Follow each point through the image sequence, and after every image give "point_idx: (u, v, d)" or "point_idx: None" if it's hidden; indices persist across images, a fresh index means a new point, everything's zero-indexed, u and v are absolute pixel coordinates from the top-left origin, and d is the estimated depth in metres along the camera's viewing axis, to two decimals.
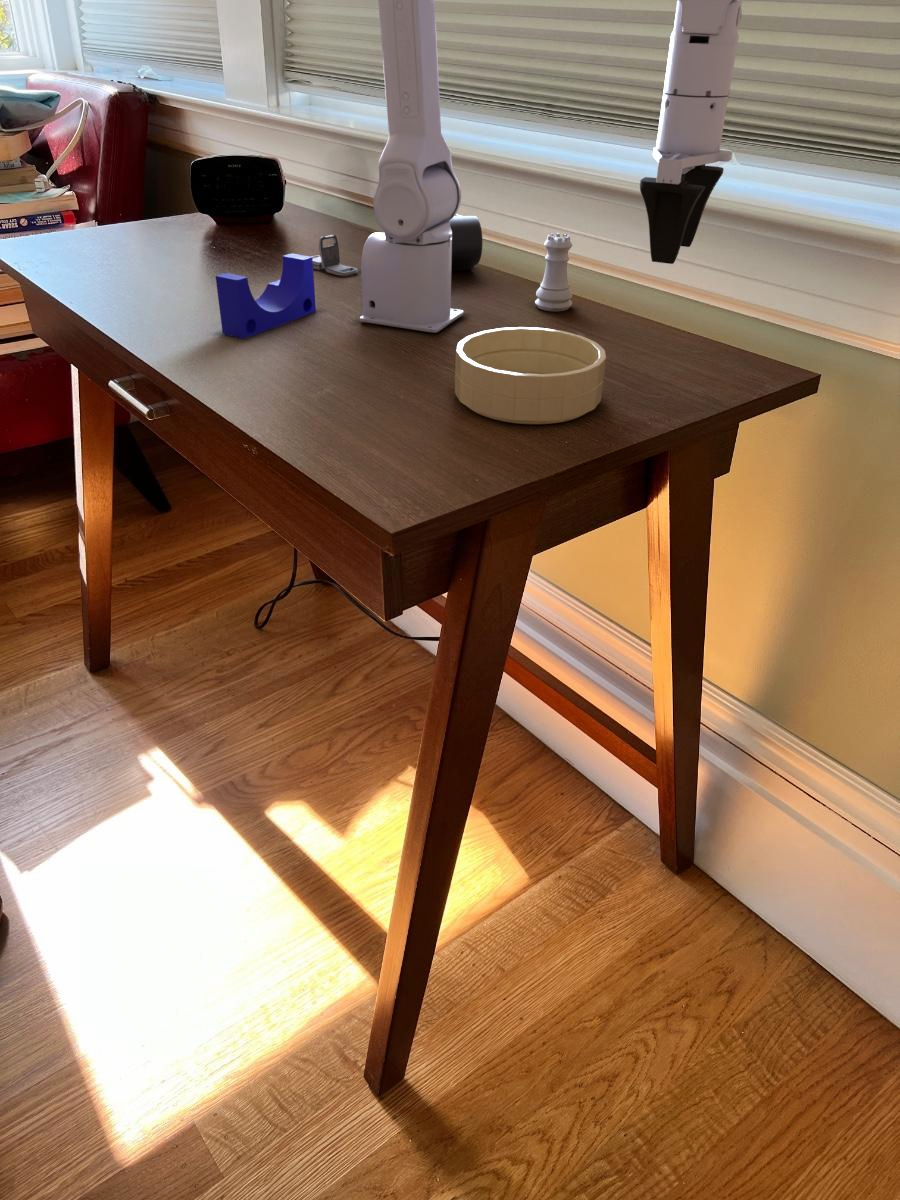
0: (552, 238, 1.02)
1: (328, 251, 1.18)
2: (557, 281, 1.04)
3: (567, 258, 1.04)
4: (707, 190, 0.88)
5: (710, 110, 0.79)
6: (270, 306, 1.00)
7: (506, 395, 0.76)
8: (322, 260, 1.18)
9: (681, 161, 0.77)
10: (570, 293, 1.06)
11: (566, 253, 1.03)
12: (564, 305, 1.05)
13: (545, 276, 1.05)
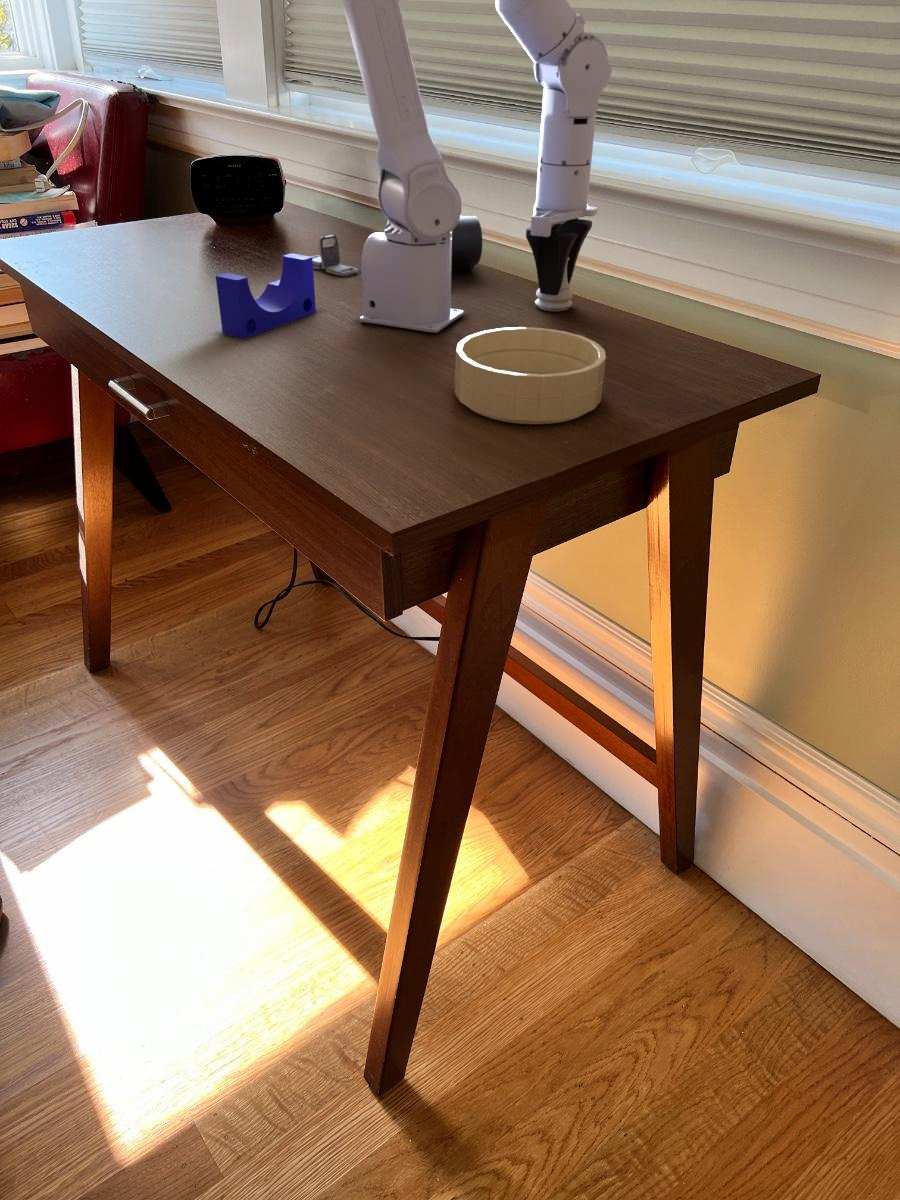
0: None
1: (328, 251, 1.18)
2: None
3: None
4: (578, 240, 1.04)
5: (574, 176, 0.97)
6: (270, 306, 1.00)
7: (506, 395, 0.76)
8: (322, 260, 1.18)
9: (549, 218, 0.95)
10: (570, 293, 1.06)
11: None
12: (564, 305, 1.05)
13: None
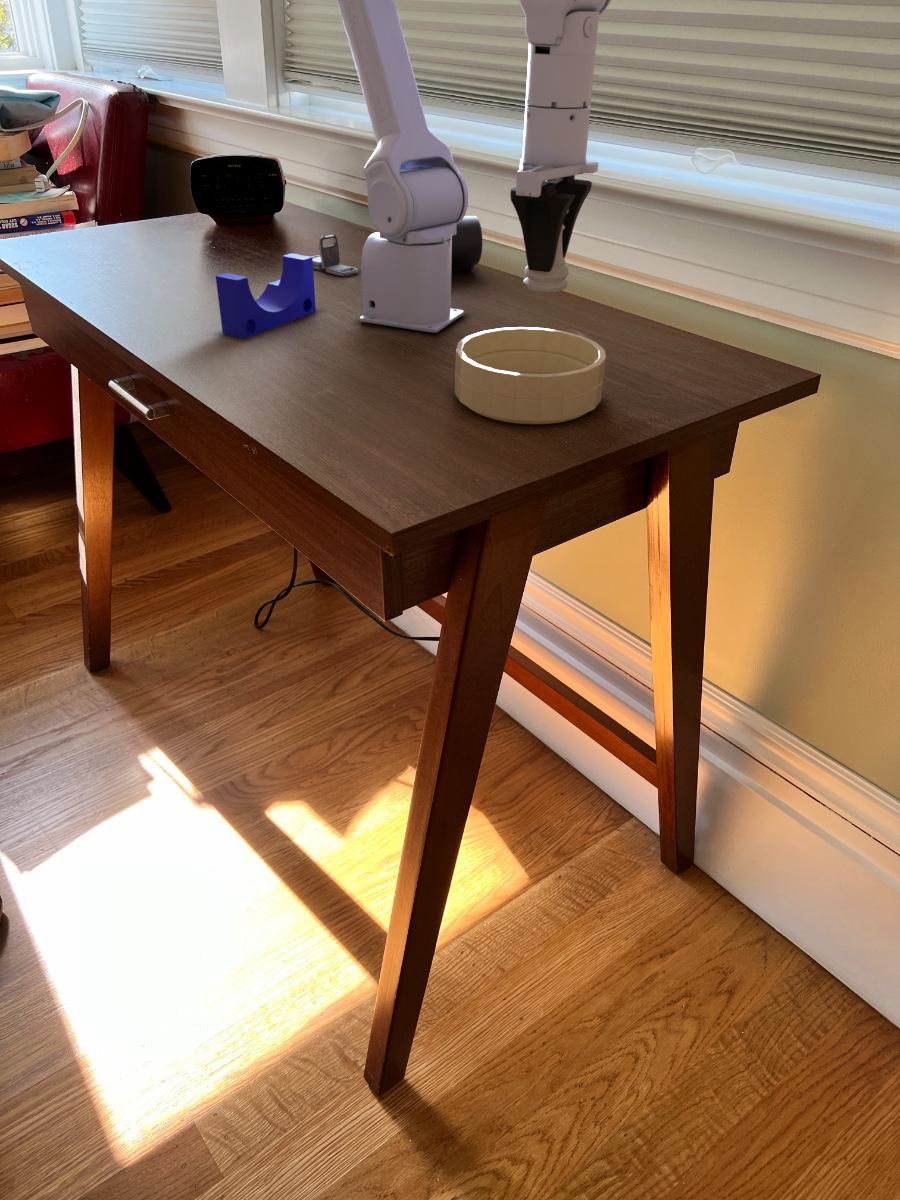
0: None
1: (328, 251, 1.18)
2: None
3: (562, 226, 0.85)
4: (575, 205, 0.85)
5: (570, 122, 0.78)
6: (270, 306, 1.00)
7: (506, 395, 0.76)
8: (322, 260, 1.18)
9: (538, 174, 0.76)
10: (566, 270, 0.87)
11: None
12: (558, 285, 0.86)
13: None
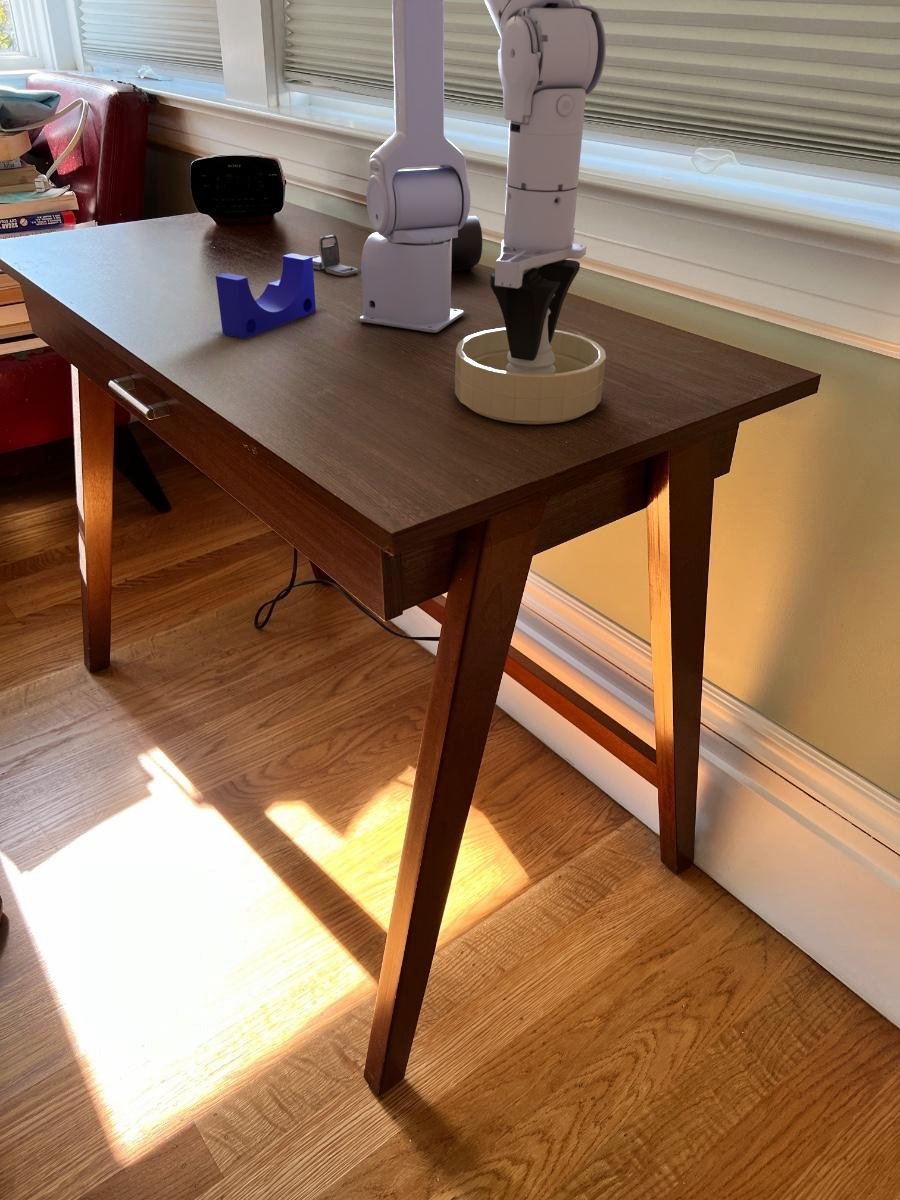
0: None
1: (328, 251, 1.18)
2: None
3: (548, 312, 0.78)
4: (561, 287, 0.78)
5: (554, 205, 0.71)
6: (270, 306, 1.00)
7: (506, 395, 0.76)
8: (322, 260, 1.18)
9: (519, 264, 0.70)
10: (552, 357, 0.80)
11: None
12: (544, 373, 0.80)
13: None
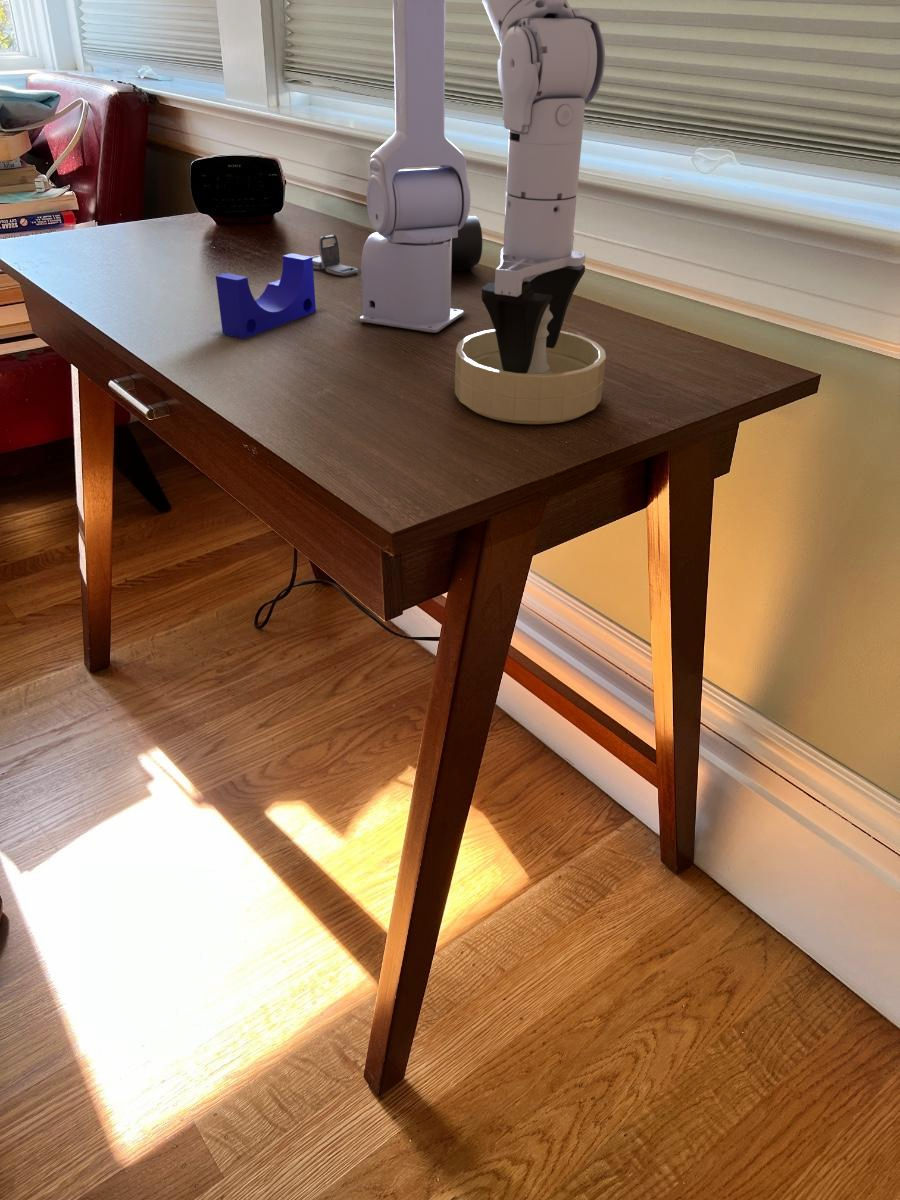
0: None
1: (328, 251, 1.18)
2: (533, 362, 0.80)
3: (546, 333, 0.79)
4: (567, 290, 0.80)
5: (554, 213, 0.71)
6: (270, 306, 1.00)
7: (506, 395, 0.76)
8: (322, 260, 1.18)
9: (518, 272, 0.70)
10: None
11: (545, 327, 0.78)
12: None
13: None
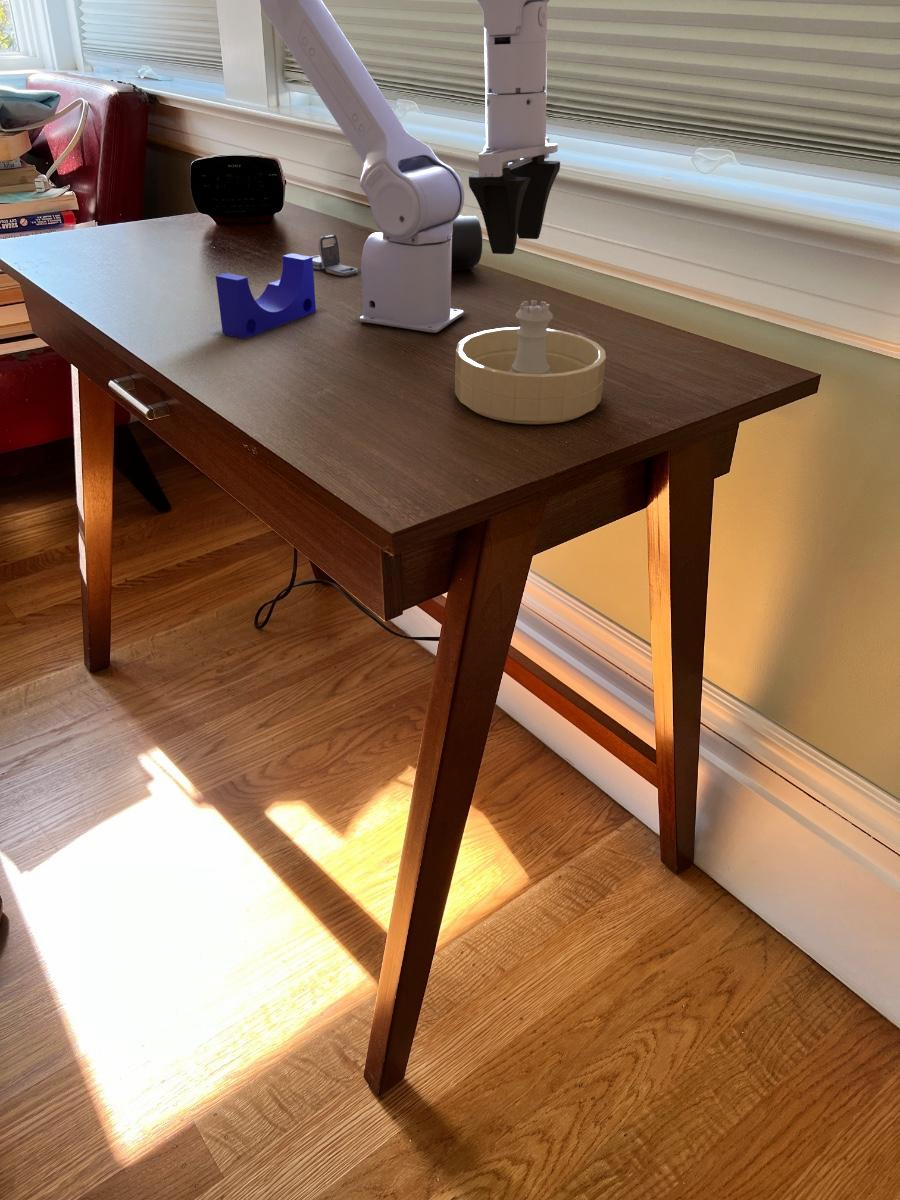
0: (526, 308, 0.77)
1: (328, 251, 1.18)
2: (533, 362, 0.80)
3: (546, 333, 0.79)
4: (545, 183, 0.92)
5: (527, 106, 0.83)
6: (270, 306, 1.00)
7: (506, 395, 0.76)
8: (322, 260, 1.18)
9: (498, 155, 0.81)
10: None
11: (545, 327, 0.78)
12: None
13: (518, 356, 0.80)
